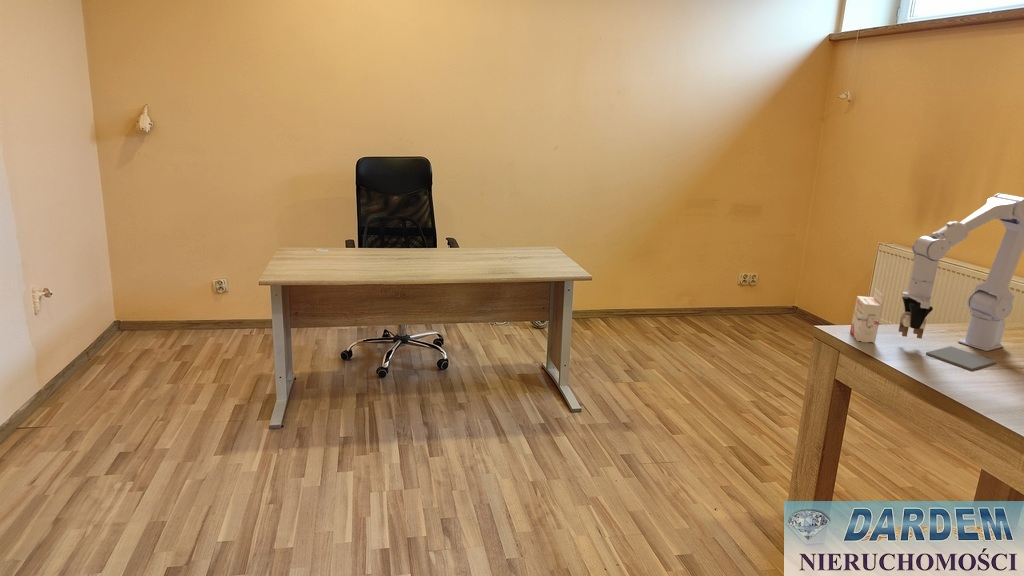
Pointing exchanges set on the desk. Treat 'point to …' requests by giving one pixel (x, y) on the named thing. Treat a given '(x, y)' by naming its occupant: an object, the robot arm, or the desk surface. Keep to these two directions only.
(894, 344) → the desk surface
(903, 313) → the stool
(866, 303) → the ink cartridge box
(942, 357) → the mat
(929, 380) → the desk surface
